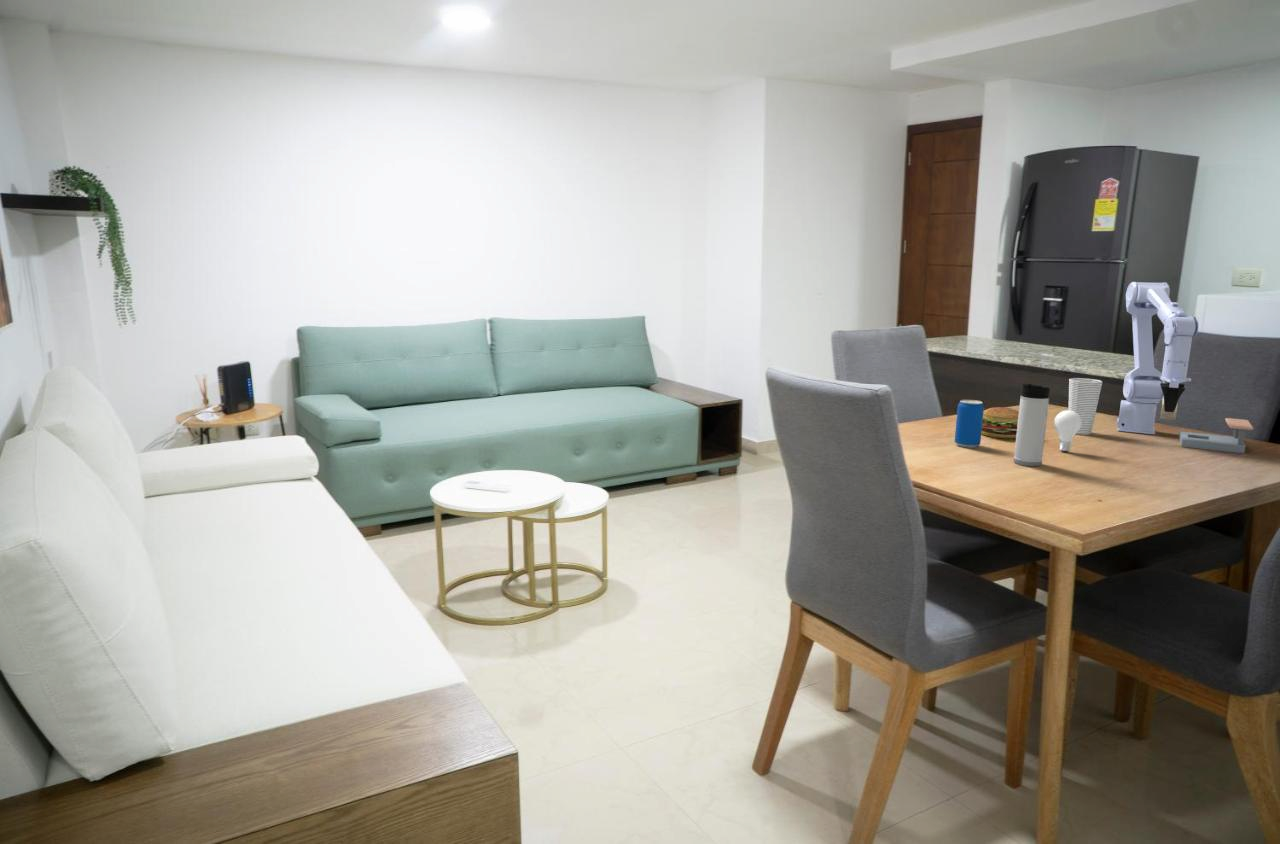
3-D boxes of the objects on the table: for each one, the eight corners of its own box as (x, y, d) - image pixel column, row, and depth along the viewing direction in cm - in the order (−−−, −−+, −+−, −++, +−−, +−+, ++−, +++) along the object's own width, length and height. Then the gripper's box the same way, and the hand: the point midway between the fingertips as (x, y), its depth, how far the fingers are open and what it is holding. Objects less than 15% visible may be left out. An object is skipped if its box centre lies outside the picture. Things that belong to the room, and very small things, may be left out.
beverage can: (975, 443, 226) (980, 399, 224) (983, 448, 220) (987, 404, 217) (951, 442, 227) (955, 399, 224) (957, 447, 220) (962, 403, 218)
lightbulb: (1052, 447, 222) (1056, 407, 220) (1078, 451, 219) (1083, 409, 217) (1049, 452, 217) (1054, 410, 215) (1077, 455, 214) (1082, 413, 211)
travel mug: (1006, 461, 206) (1015, 381, 202) (1027, 459, 208) (1036, 380, 204) (1026, 467, 200) (1035, 385, 196) (1047, 465, 203) (1056, 384, 199)
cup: (1100, 436, 237) (1107, 382, 234) (1068, 435, 239) (1075, 381, 236) (1089, 430, 246) (1096, 378, 243) (1058, 429, 247) (1065, 377, 244)
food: (981, 439, 232) (983, 411, 230) (970, 429, 245) (973, 402, 244) (1033, 442, 229) (1036, 413, 228) (1020, 431, 243) (1023, 405, 241)
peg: (1160, 418, 227) (1164, 390, 226) (1159, 416, 230) (1164, 388, 229) (1175, 420, 226) (1180, 391, 224) (1175, 418, 229) (1179, 389, 227)
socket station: (1181, 446, 226) (1185, 421, 225) (1179, 438, 237) (1182, 414, 236) (1249, 453, 219) (1253, 427, 217) (1243, 444, 230) (1247, 419, 228)
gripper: (1195, 365, 217) (1187, 416, 219) (1192, 359, 229) (1184, 408, 232) (1163, 363, 220) (1156, 413, 223) (1162, 357, 233) (1155, 405, 235)
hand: (1168, 410), depth 228 cm, fingers closed on peg, 4 cm apart
